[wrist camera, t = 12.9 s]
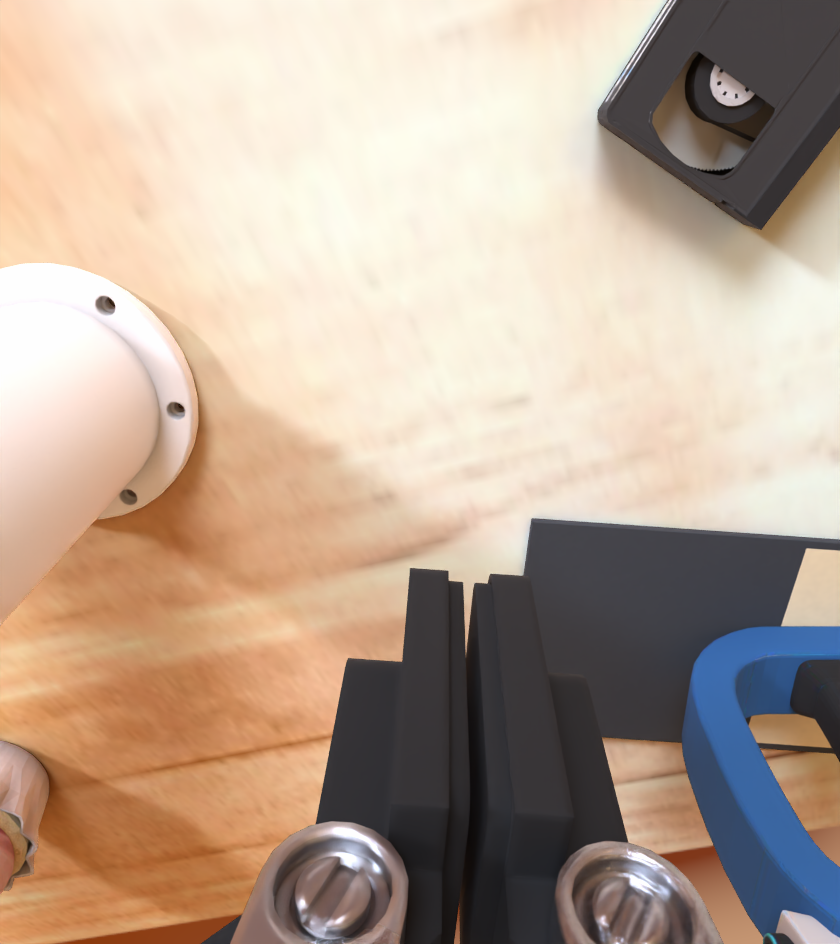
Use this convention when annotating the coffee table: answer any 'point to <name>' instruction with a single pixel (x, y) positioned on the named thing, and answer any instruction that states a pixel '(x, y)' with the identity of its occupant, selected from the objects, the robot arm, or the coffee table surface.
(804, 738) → the mat
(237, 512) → the coffee table surface
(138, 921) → the coffee table surface
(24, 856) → the cupcake
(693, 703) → the handheld scanner
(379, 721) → the robot arm
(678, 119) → the vhs tape
